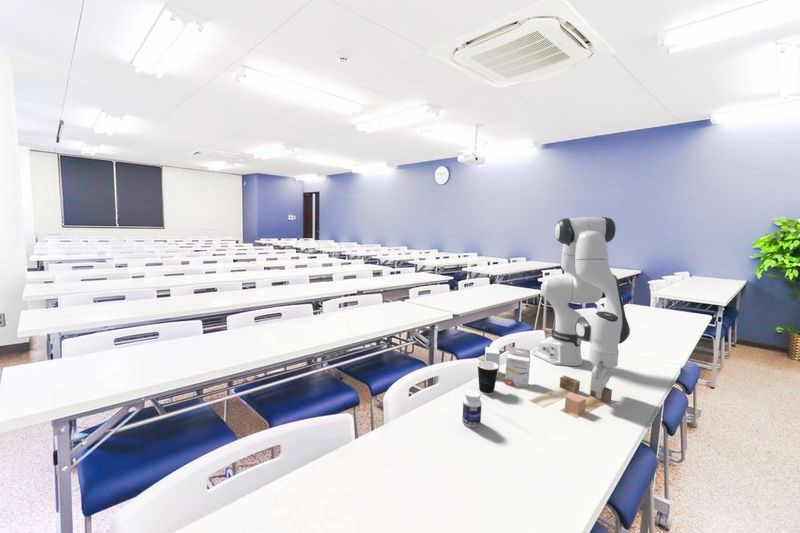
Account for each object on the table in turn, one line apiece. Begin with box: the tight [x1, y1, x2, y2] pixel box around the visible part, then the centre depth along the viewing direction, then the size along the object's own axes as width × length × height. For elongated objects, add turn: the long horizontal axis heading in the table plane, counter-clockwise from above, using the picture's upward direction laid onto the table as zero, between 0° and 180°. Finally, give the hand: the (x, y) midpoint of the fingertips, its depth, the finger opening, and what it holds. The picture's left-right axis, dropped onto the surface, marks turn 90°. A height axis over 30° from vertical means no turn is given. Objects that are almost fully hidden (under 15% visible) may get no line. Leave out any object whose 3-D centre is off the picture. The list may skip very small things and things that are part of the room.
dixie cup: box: [476, 360, 500, 395], centre depth 136 cm, size 8×8×11 cm
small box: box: [484, 346, 501, 379], centre depth 153 cm, size 8×6×10 cm
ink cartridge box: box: [504, 346, 531, 389], centre depth 142 cm, size 9×5×15 cm, turn 65°
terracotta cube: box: [564, 393, 586, 415], centre depth 121 cm, size 4×4×4 cm
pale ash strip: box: [528, 375, 581, 408], centre depth 131 cm, size 6×22×5 cm, turn 124°
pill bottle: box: [461, 389, 482, 428], centre depth 115 cm, size 6×6×10 cm
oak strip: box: [559, 386, 613, 419], centre depth 125 cm, size 6×22×5 cm, turn 124°
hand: (600, 395), depth 130 cm, fingers closed on oak strip, 4 cm apart
